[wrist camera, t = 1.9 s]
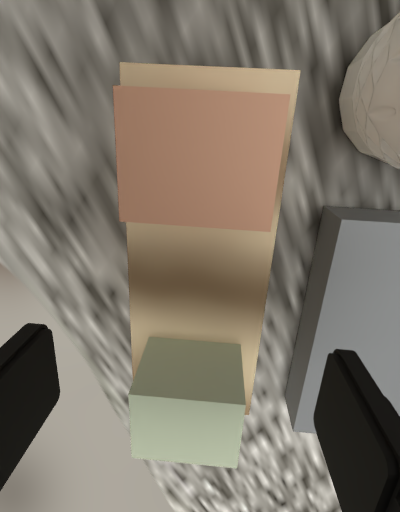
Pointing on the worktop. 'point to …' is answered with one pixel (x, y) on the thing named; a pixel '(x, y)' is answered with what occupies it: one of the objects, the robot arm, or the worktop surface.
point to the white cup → (375, 96)
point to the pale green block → (188, 402)
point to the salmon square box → (198, 156)
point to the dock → (349, 306)
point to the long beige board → (204, 242)
